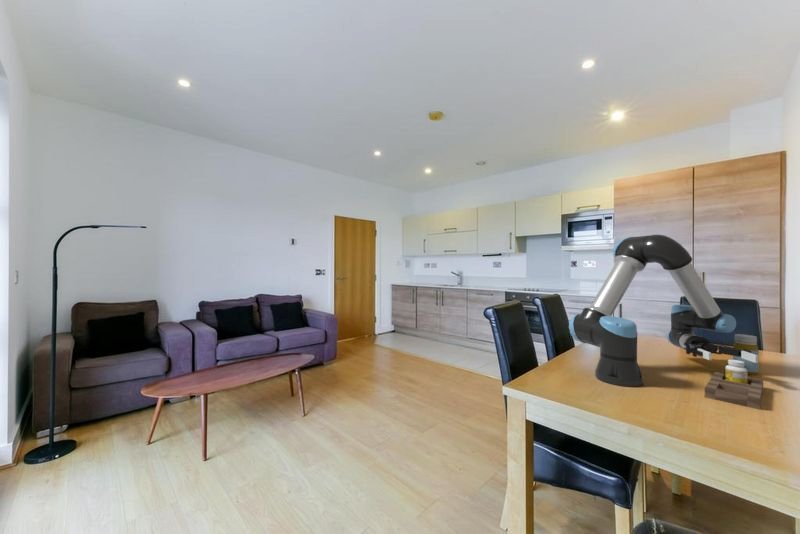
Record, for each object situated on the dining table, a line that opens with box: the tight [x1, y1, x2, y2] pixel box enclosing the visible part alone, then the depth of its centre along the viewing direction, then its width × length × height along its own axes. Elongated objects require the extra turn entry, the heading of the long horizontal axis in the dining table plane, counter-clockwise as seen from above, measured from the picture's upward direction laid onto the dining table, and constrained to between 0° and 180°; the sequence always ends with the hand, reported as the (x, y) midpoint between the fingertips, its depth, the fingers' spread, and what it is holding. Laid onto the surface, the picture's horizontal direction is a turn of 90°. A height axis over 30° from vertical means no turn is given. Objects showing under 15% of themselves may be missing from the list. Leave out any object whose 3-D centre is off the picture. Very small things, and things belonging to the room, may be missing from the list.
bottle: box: [732, 333, 760, 376], centre depth 129 cm, size 7×7×15 cm
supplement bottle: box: [724, 359, 748, 384], centre depth 112 cm, size 5×5×10 cm
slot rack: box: [704, 371, 764, 410], centre depth 108 cm, size 26×12×3 cm, turn 129°
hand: (733, 357), depth 114 cm, fingers open, 13 cm apart
